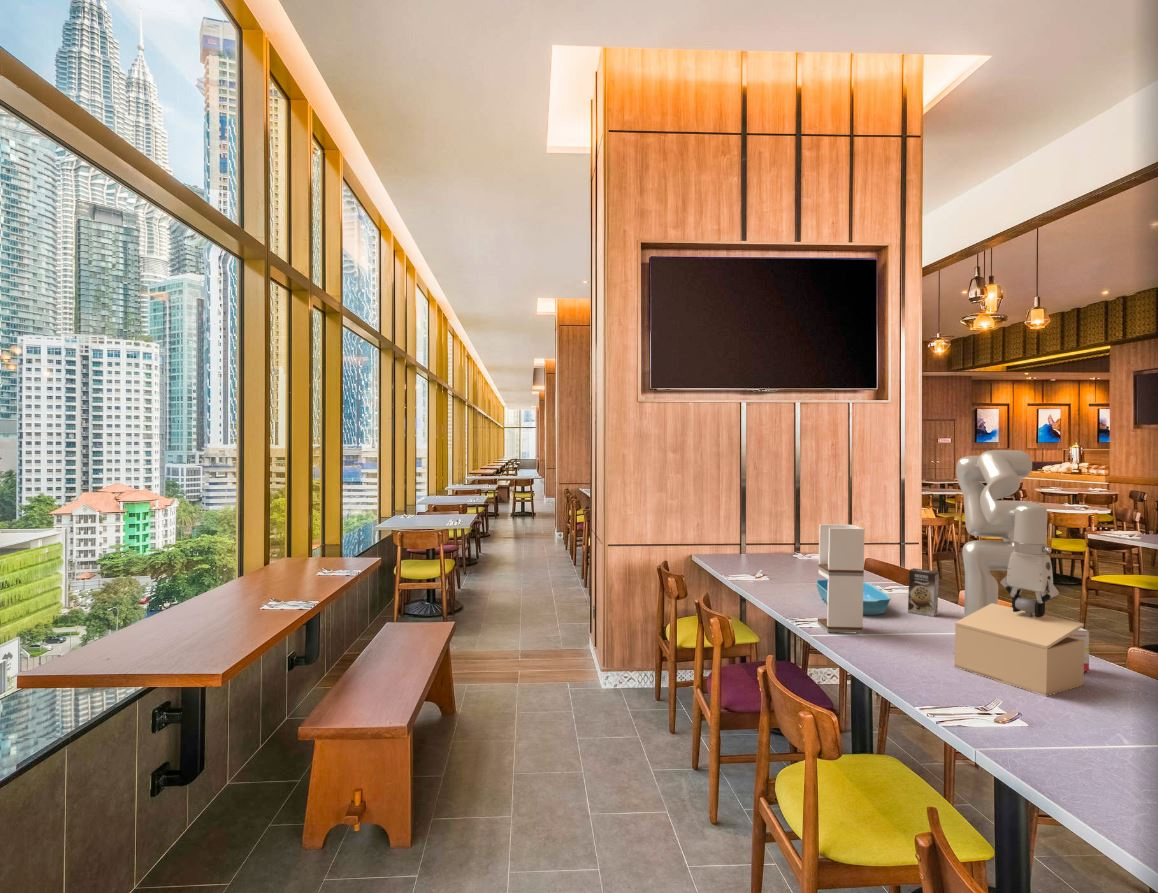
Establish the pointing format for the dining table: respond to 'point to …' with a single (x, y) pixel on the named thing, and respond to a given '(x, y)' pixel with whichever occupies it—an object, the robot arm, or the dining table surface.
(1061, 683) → the carton
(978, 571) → the robot arm
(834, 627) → the display case
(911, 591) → the dessert mix box
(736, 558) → the dining table surface
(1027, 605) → the carton lid
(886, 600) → the casserole dish
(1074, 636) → the ink box
